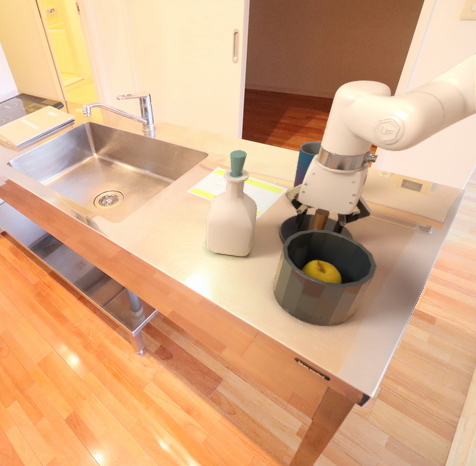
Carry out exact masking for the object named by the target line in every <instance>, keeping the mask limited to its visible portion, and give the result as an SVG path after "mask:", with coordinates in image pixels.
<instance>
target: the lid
mask: <svg viewBox="0 0 476 466" xmlns="http://www.w3.org/2000/svg"><path fill="white" fill-rule="evenodd" d="M330 212H331V211H327V210H323V209H319V208H316V210H315V211H314V214H311V213H307V214H306V217H305V221H304V223H303V225H302V227H301V229H297V225H298V223H295V221H296V218H297V214H296V215H293V216H290V217H288V218H287V219H285V220H284V221H283V222H282V223H281V225H280V229H279V235H280V238H281V240H282V241H283V243H285V242H286V240H287V239H288V238H289V237H291V236H292V235H294V234H296V233H298V232H301V231H307V230H327V231H332V232H333V230H334V227H335V225H336V222H337V220H336V219H333V218H331V217H329V216H330V214H331V213H330ZM341 234H342V235H345V236H348V237H350V238H351V239H353V240H354V237H353V234H352V233H351V231H350V230H349V229H348V228H347V227H346V225H345V226H344V227H343V229H342V232H341Z"/></svg>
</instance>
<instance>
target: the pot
mask: <svg viewBox="0 0 476 466" xmlns="http://www.w3.org/2000/svg"><path fill="white" fill-rule="evenodd" d="M278 260H279V261H278V264H277V268H276V272H275V276H274V280H273V282H272V283H273V284H272V285H273V289H272V290H273V295H274V298H275V300H276V302H277V303H278V305H279V306H280V307H281V308H282V309H283V311H285V312H286V313H287V314H288V315H290V316H292V318H295V319H297V320H299V321H301V322H303V323H306V324H309V325H312V326H313V325H314V326H320V327H330V326H336V325H340V324H342V323H345V322H346V321H348V320H349V318H351V316H353V315H354V313H355V311H356V309H357V308H358V306H359V304H360V302H361V300H362V298H363V296H364V295H365V293H366V291H367V289H369V286H370V284H371V282H372V280H373V278H374V277H375V273H376V270H377V263H376V260H375V258H374V255H373V254H372V253H371V252H370V251H369V250H368V249H367V247H365V246H364V244H362V243H361V242H359V241H357V240H355V239H354V238H353V239H351V238H350V237H348V236H345V235H342V234H339V233H335V232H332V231H327V230H307V231H301V232H298V233H296V234H294V235H292V236H291V237H289V238H288V239H287V240H286V242H284V244H283V245H282V249H281V253H280V257H279V259H278ZM314 260H319V261H323V262H327V263H329V264H331V265H333V266H334V267H335V268H336V269H337V270H338V272H339V273H340V276H341V284H338V283H329V282H324V281H321V280H318V279H316V278H313V277H310V276H308V275H307V274H305V273H304V272H302V269H303V268H304V266H305V265H306V264H308V263H309V262H311V261H314Z"/></svg>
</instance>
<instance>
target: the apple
mask: <svg viewBox="0 0 476 466" xmlns="http://www.w3.org/2000/svg"><path fill="white" fill-rule="evenodd" d="M302 272H304V273H305V274H307V275H308V276H310V277H313V278H316V279H318V280H321V281H324V282H329V283H338V284H341V276H340V273H339V272H338V270H337V269H336V268H335V267H334V266H333V265H331V264H329V263H327V262H323V261H319V260H314V261H311V262H309V263H308V264H306V265H305V266H304V268H303V269H302Z"/></svg>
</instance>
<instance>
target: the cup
mask: <svg viewBox="0 0 476 466" xmlns="http://www.w3.org/2000/svg"><path fill="white" fill-rule="evenodd" d="M321 143H322V141H307V142H304V143H302V144H301V145H300V146H299V152H298V157H297V165H296V169H295V174H294V175H295V176H294V182H293V187H292V188H294V187H296V186H298V185H300V184H302V183H303V180H304V178H305V175H306V172H307V170H308V168H309V166H310V163H311V161H312V159H313V158H314V156H315V155H317V154H318V153H319V150H320V146H321ZM296 196H297V197H298V196H299V193H298V194H296ZM309 208H312V207H311V206H309V207H308V208H307V209H309Z"/></svg>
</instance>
